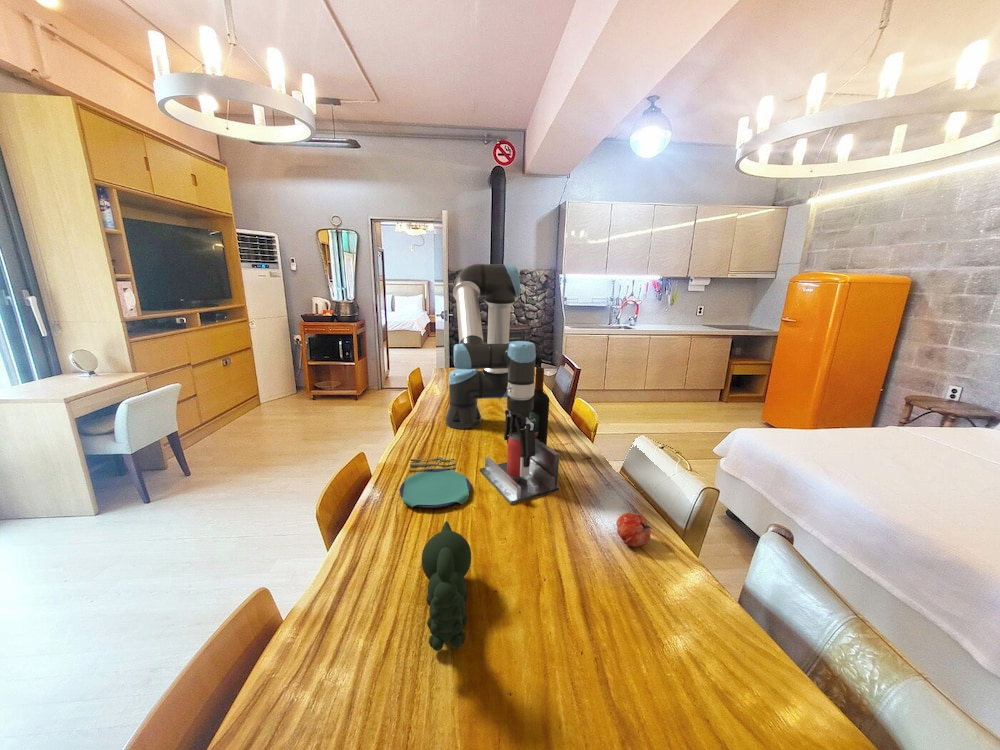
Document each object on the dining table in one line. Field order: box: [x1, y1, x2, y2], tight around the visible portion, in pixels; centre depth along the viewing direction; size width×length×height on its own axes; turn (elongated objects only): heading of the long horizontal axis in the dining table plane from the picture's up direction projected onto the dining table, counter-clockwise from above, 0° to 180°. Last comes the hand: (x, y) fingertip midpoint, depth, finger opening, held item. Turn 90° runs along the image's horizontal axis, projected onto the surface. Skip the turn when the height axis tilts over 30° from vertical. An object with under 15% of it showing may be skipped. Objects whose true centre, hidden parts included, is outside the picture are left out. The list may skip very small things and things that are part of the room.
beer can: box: [506, 432, 522, 478], centre depth 109 cm, size 7×7×12 cm
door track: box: [479, 438, 560, 506], centre depth 110 cm, size 20×16×11 cm
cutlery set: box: [398, 456, 472, 509], centre depth 110 cm, size 20×30×2 cm, turn 10°
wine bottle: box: [529, 367, 550, 446], centre depth 128 cm, size 8×8×30 cm
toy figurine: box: [421, 520, 472, 652], centre depth 66 cm, size 9×19×25 cm
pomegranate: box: [615, 511, 653, 548], centre depth 85 cm, size 7×7×10 cm
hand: (518, 469), depth 110 cm, fingers closed on beer can, 7 cm apart
